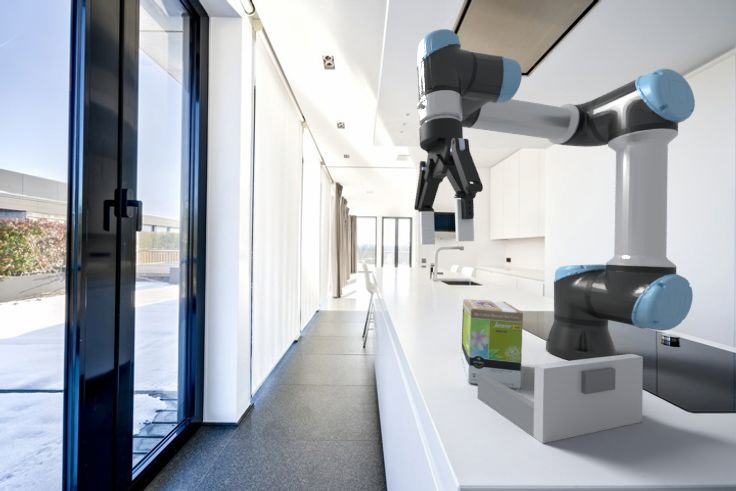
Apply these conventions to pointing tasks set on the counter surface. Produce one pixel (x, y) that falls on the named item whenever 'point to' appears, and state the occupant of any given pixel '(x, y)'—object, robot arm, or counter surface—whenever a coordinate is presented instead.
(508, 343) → the tea box
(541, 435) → the grey drawer
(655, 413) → the counter surface
